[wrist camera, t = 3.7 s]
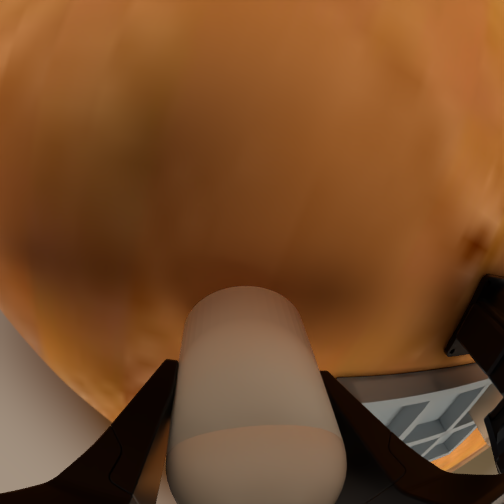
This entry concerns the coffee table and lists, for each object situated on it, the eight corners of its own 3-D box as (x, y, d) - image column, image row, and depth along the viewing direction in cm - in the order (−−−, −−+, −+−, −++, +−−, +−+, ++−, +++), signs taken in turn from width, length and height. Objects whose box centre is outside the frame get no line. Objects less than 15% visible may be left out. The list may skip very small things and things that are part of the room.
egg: (317, 293, 10) (407, 498, 3) (286, 378, 12) (321, 542, 5) (188, 277, 10) (148, 522, 3) (181, 369, 12) (166, 546, 4)
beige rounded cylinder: (501, 371, 20) (536, 419, 13) (478, 401, 22) (508, 448, 15) (480, 378, 19) (518, 433, 12) (455, 409, 21) (486, 462, 14)
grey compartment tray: (516, 353, 20) (527, 365, 18) (443, 442, 26) (449, 454, 24) (337, 377, 16) (347, 404, 14) (274, 476, 23) (277, 494, 21)
